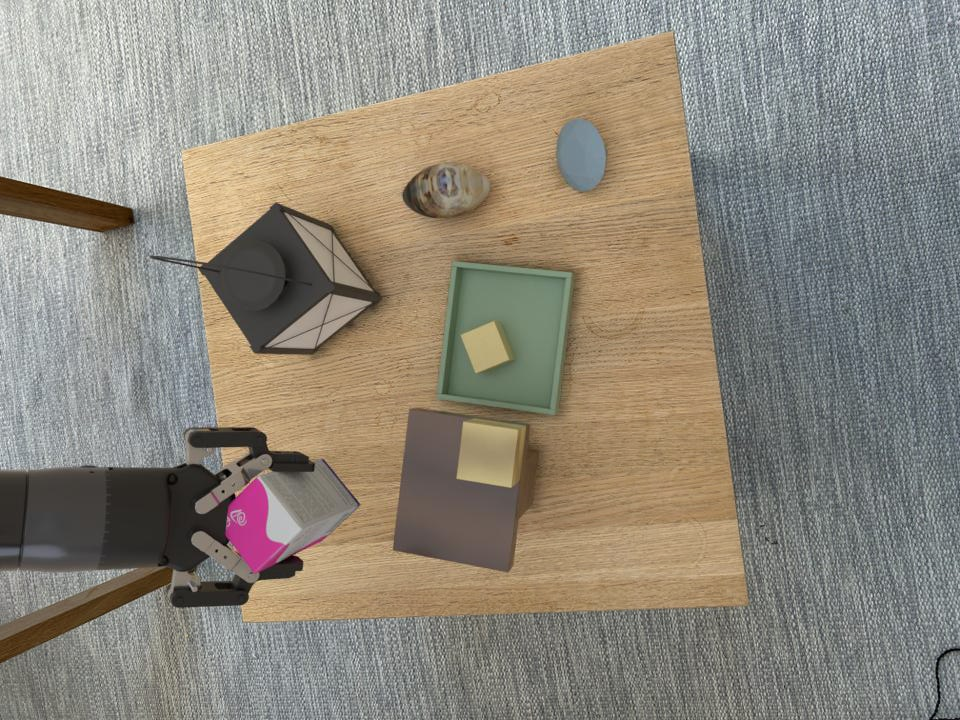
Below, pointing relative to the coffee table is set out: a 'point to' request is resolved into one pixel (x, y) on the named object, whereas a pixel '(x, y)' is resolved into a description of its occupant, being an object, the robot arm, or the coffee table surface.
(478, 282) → the butter dish
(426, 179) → the seashell
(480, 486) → the butter stand
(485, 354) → the butter pat
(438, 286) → the coffee table surface
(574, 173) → the blue-grey stone
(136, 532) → the robot arm
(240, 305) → the lantern
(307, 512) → the supplement box
